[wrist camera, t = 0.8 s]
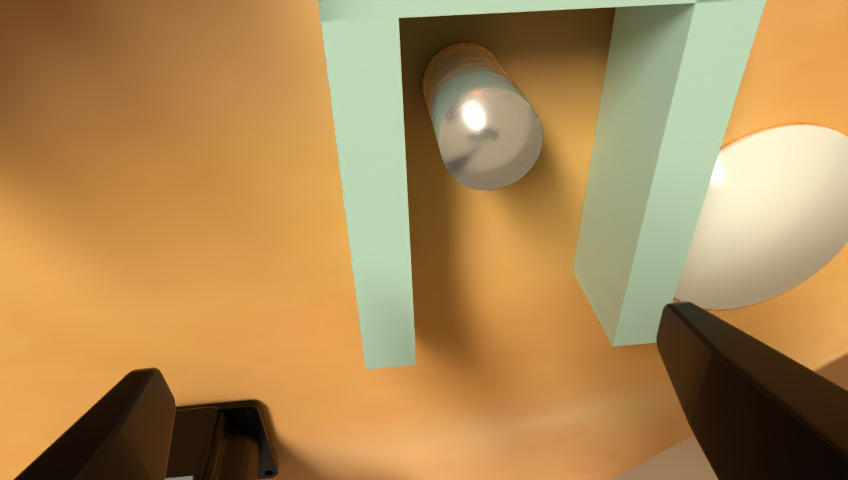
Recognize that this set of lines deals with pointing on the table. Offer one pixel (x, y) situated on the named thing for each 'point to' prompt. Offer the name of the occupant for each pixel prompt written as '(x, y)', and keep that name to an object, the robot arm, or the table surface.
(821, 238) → the cream oval dome
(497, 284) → the table surface
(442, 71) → the peg
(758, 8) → the c link
